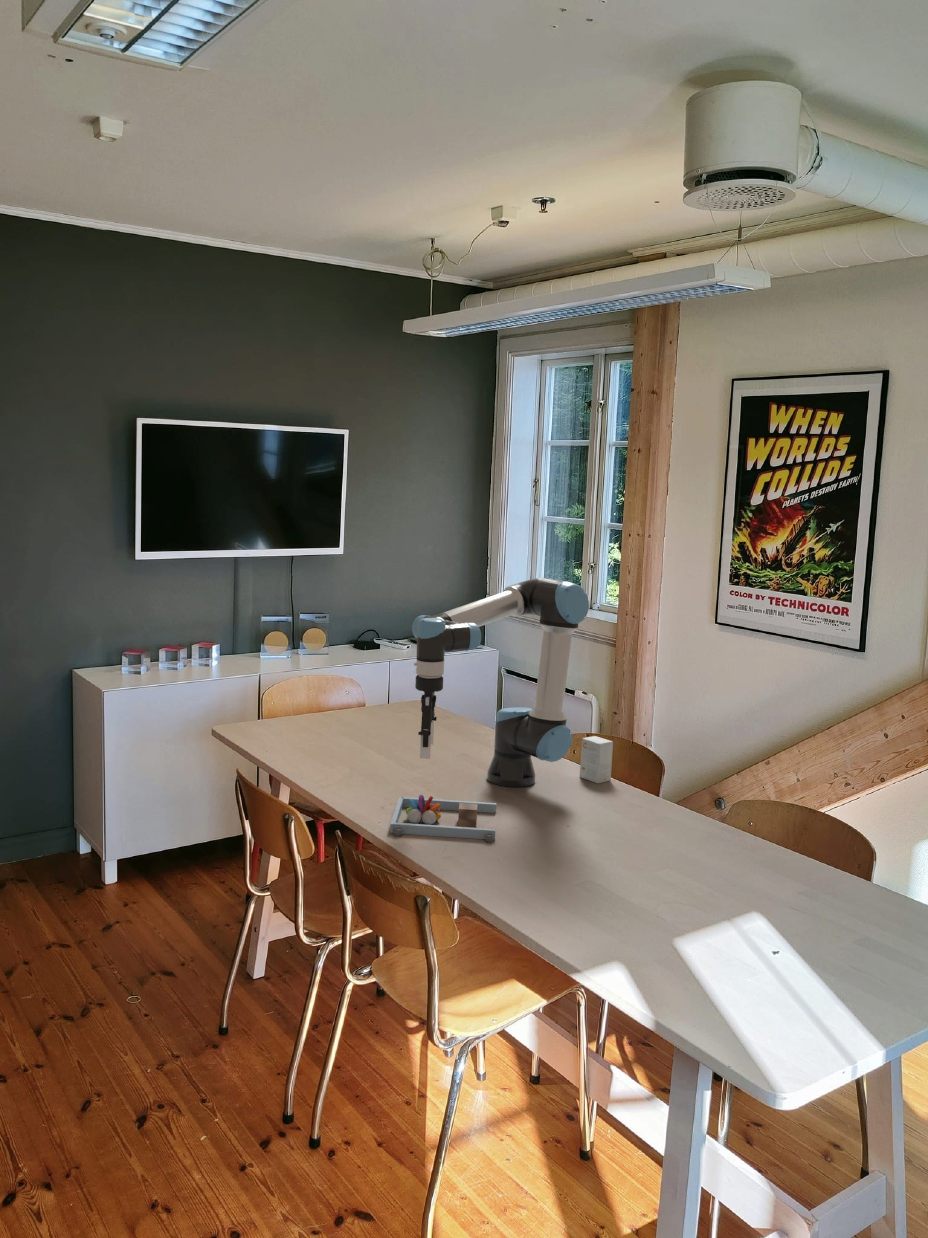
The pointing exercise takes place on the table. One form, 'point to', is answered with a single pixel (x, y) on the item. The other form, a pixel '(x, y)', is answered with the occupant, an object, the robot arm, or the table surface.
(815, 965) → the table surface
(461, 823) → the walnut block
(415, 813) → the rainbow segmented toy
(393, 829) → the cart frame
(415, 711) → the table surface
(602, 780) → the small box
